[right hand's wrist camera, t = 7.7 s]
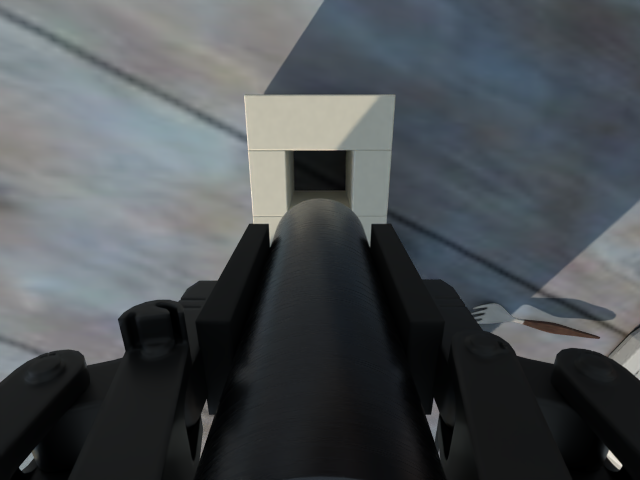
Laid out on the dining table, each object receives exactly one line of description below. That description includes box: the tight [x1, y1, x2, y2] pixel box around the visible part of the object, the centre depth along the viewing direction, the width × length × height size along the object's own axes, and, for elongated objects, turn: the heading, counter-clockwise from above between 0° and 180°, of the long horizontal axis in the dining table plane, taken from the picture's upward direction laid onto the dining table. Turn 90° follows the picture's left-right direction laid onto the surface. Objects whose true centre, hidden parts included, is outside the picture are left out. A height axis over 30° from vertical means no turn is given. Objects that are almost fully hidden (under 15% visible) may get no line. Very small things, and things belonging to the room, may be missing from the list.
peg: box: [193, 198, 447, 480], centre depth 10 cm, size 4×4×12 cm
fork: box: [471, 303, 600, 339], centre depth 39 cm, size 3×16×2 cm, turn 77°
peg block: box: [244, 95, 396, 246], centre depth 33 cm, size 30×10×8 cm, turn 0°
